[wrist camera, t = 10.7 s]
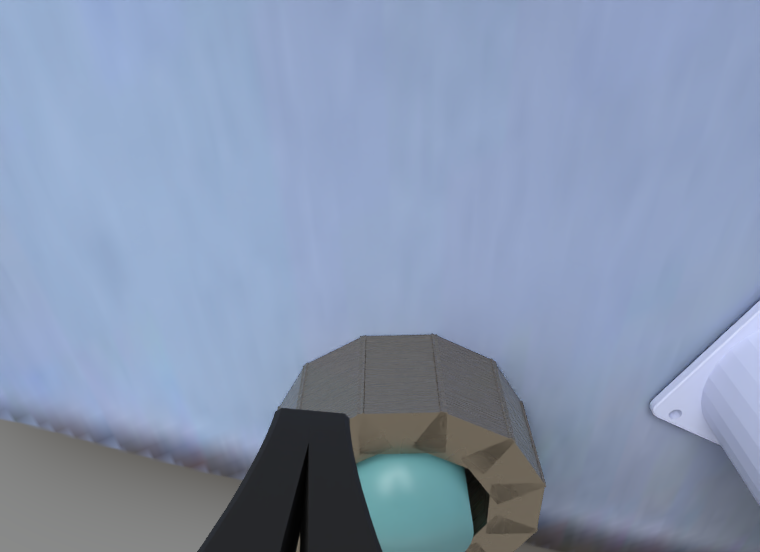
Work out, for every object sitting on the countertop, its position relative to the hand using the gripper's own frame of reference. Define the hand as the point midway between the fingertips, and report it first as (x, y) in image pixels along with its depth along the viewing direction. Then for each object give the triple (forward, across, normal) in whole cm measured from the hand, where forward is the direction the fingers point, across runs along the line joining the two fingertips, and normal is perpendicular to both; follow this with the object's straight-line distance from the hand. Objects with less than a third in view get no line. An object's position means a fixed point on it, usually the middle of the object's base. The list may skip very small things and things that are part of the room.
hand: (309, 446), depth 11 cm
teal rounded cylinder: (+10, -4, +9) cm, 14 cm away
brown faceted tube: (+10, -4, +9) cm, 14 cm away
